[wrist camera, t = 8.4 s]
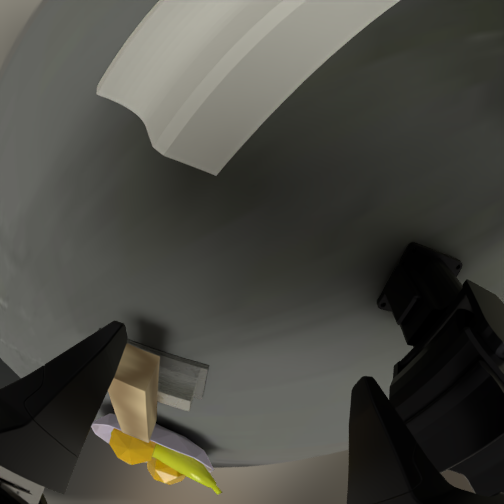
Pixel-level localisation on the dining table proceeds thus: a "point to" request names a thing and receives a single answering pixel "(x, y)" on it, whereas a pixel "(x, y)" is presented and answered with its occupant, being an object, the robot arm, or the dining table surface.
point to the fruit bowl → (158, 453)
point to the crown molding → (224, 67)
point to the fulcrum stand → (177, 378)
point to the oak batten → (136, 392)
